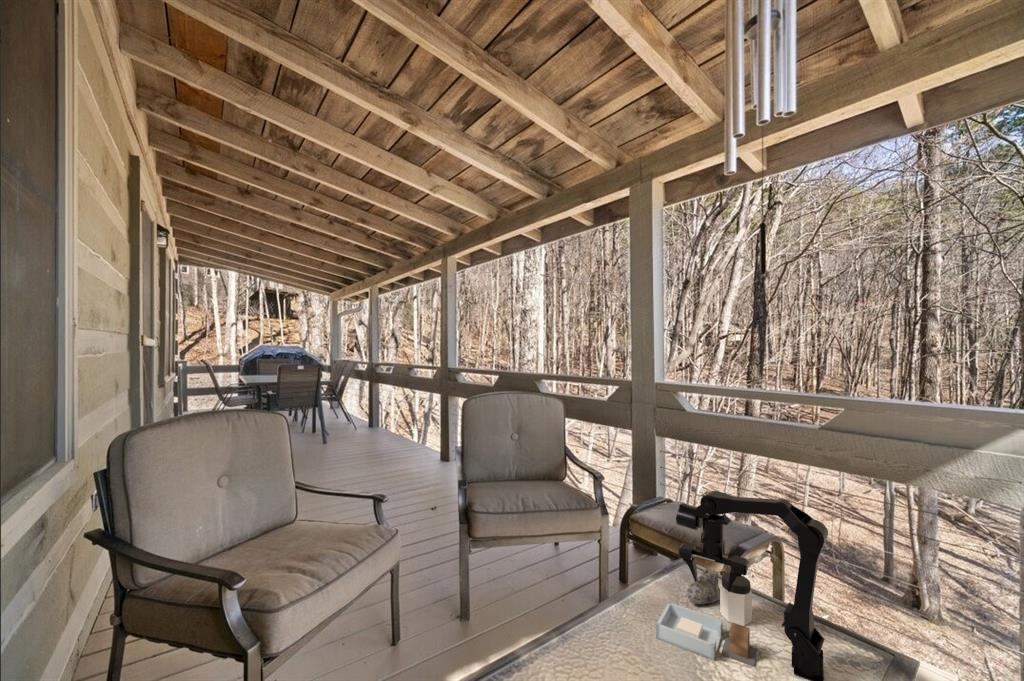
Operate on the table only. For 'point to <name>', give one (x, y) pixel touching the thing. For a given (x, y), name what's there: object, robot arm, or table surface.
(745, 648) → the walnut block
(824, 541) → the robot arm
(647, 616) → the table surface
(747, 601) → the jar
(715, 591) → the mineral rock
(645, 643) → the table surface
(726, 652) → the rubber mat
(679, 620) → the access box
